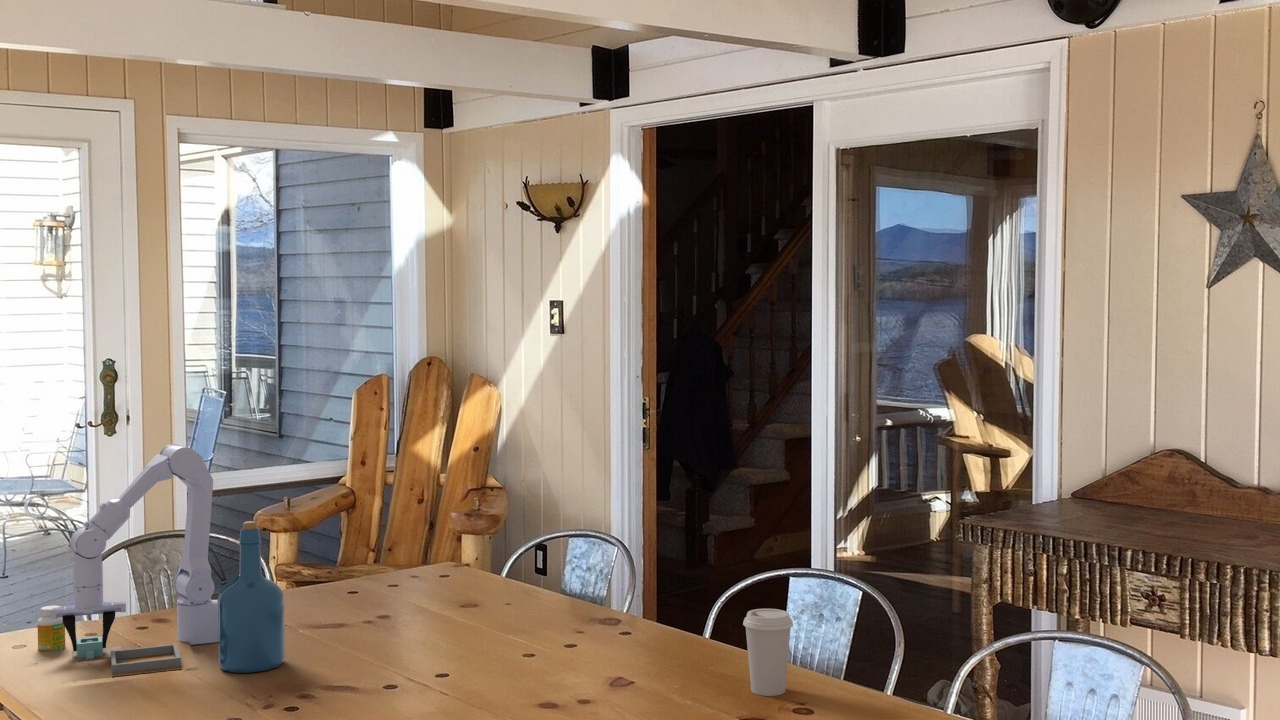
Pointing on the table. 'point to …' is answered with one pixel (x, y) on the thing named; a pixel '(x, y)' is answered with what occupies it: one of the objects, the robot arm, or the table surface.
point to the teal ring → (89, 647)
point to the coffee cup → (768, 650)
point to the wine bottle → (250, 613)
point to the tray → (145, 664)
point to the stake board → (105, 655)
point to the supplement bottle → (50, 631)
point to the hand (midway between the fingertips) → (89, 648)
